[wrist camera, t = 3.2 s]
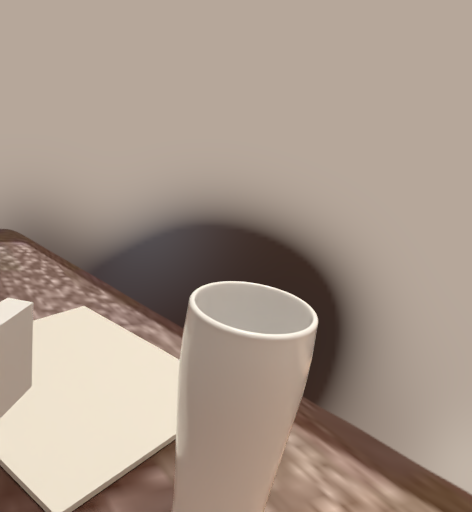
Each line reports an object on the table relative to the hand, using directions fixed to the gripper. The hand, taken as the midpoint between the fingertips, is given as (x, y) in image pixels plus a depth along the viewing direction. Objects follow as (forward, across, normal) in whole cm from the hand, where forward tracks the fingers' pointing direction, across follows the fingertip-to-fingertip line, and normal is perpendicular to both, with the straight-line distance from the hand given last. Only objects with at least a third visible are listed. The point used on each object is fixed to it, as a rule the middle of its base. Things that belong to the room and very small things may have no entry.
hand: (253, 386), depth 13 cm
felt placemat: (+22, -14, -16) cm, 31 cm away
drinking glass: (+10, 0, -17) cm, 20 cm away
